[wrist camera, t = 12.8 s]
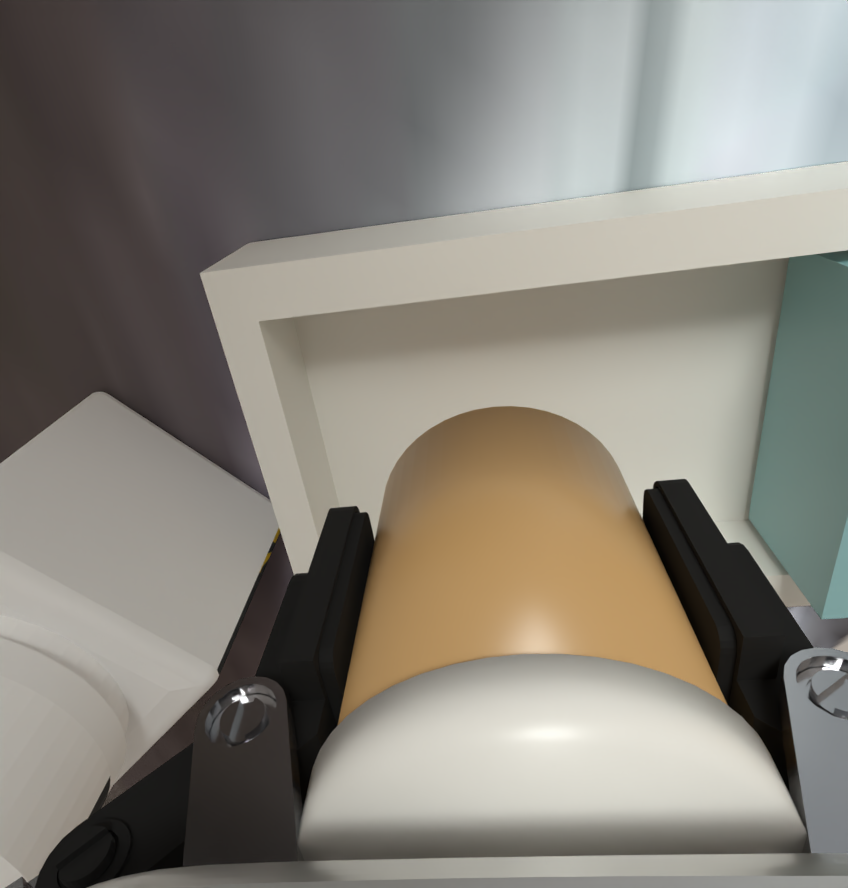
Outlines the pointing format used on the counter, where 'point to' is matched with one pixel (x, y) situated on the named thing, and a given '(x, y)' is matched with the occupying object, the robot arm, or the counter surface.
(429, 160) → the counter surface
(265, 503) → the medicine bottle
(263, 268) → the lane
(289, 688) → the robot arm
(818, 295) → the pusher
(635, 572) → the jar
